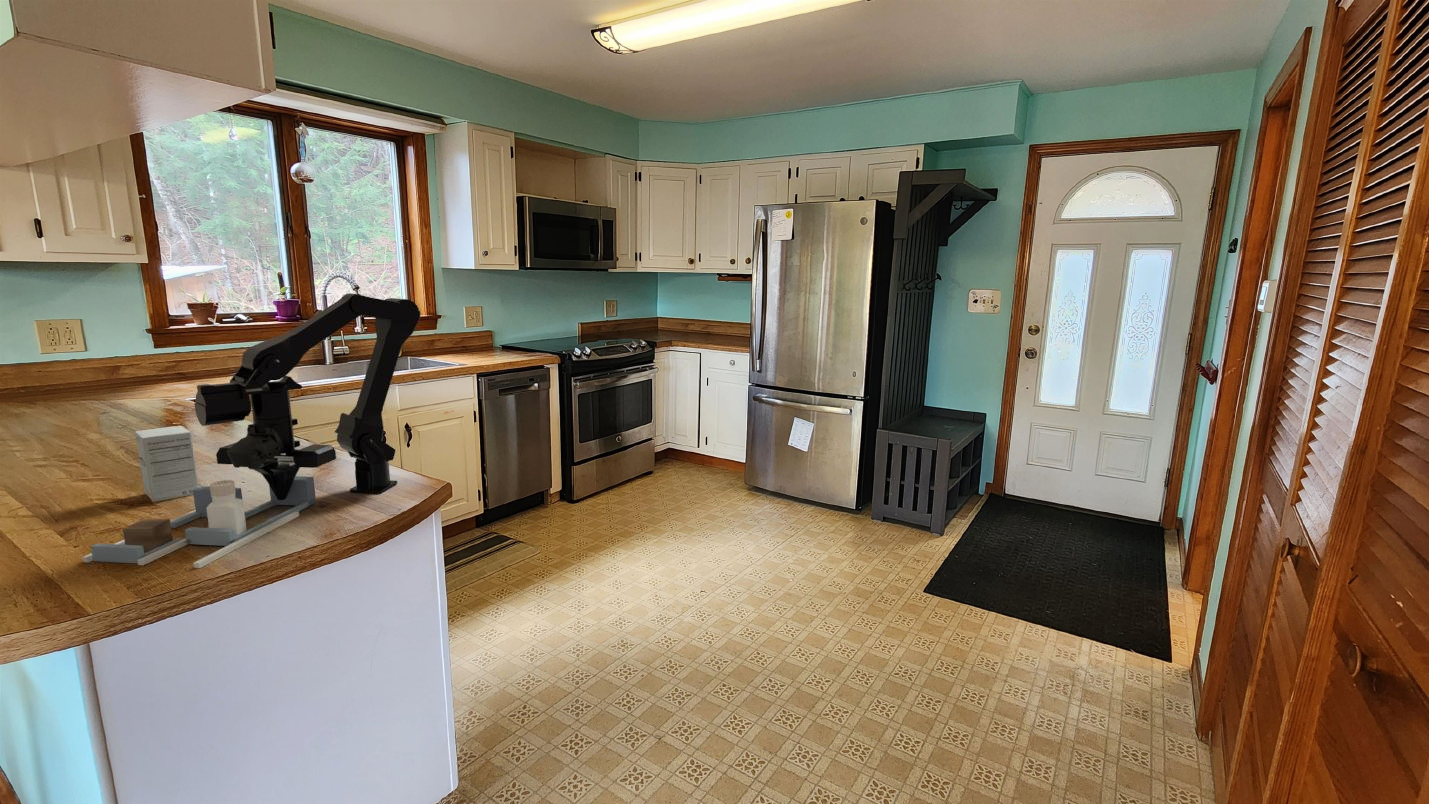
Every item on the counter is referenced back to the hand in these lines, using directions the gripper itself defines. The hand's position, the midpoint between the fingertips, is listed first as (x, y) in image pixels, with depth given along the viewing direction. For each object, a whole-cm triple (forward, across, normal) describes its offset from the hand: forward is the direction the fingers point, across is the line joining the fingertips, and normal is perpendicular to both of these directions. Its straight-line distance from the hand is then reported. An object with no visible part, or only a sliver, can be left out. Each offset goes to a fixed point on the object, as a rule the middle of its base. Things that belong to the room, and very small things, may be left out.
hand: (282, 499), depth 117 cm
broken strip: (+2, -9, -13) cm, 16 cm away
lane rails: (+2, -4, -13) cm, 14 cm away
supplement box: (+2, -27, +6) cm, 28 cm away
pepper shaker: (+2, 0, -13) cm, 13 cm away
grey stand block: (+2, 0, -6) cm, 7 cm away
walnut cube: (+2, -9, -17) cm, 20 cm away
